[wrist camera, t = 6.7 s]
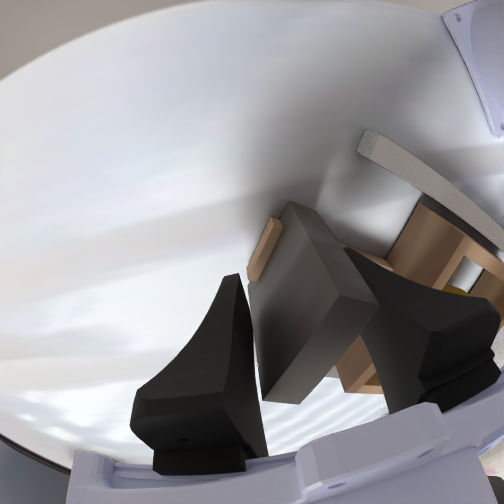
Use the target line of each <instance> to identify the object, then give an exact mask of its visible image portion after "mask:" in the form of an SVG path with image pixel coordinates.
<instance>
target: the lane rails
mask: <svg viewBox="0 0 504 504" xmlns="http://www.w3.org/2000/svg"><path fill="white" fill-rule="evenodd" d="M355 152H357V153H359V154H361V155H362V156H364V157H366V158H368V159H370V160H371V161H373V162H375V163H377V164H378V165H380V166H382V167H384V168H385V169H387V170H389V171H390V172H392V173H394V174H395V175H397V176H399V177H400V178H402V179H404V180H405V181H407V182H408V183H410V184H412V185H413V186H415V187H416V188H418V189H419V190H421V191H423V192H424V193H426V194H427V195H429V196H430V197H432V198H433V199H435V200H436V201H437V202H439V203H440V204H442V205H443V206H445V207H446V208H447V209H449V210H450V211H452V212H453V213H454V214H456V215H457V216H459V217H460V218H461V219H463V220H464V221H465V222H467V223H468V224H469V225H471V226H472V227H473V228H474V229H476V230H477V231H478V232H480V233H481V234H482V235H483V236H485V237H486V238H487V239H488V240H489V241H491V242H492V243H493V244H494V245H496V246H497V247H498V248H499V249H500V250H501V251H503V252H504V229H503V228H501V227H500V226H499V225H498V224H497V223H496V222H495V221H494V220H493V219H492V218H491V217H490V216H489V215H488V214H487V213H486V212H484V211H483V210H482V209H481V208H480V207H479V206H478V205H477V204H475V203H474V202H473V201H472V200H471V199H470V198H468V197H467V196H466V195H465V194H464V193H462V192H461V191H460V190H459V189H457V188H456V187H455V186H454V185H452V184H451V183H450V182H449V181H447V180H446V179H445V178H444V177H442V176H441V175H440V174H438V173H437V172H436V171H434V170H433V169H432V168H430V167H429V166H427V165H426V164H425V163H423V162H422V161H420V160H419V159H418V158H416V157H415V156H413V155H412V154H410V153H409V152H407V151H406V150H404V149H403V148H401V147H400V146H398V145H397V144H395V143H394V142H392V141H391V140H389V139H387V138H386V137H384V136H383V135H381V134H378V133H375V132H372V131H369V130H366V129H365V132H364V134H363V136H362V138H361V140H360V142H359V144H358V146H357V148H356V151H355ZM254 361H255V366H256V367H258V364H257V357H256V349H255V341H254ZM325 377H333V378H340V377H339V375H338V372H337V369H336V366H335V365H334V366H333V368H332V369H331V370H330V371H329V372H328V373H327V375H326V376H325Z"/></svg>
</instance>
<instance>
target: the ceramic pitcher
mask: <svg viewBox="0 0 504 504" xmlns="http://www.w3.org/2000/svg"><path fill="white" fill-rule="evenodd" d="M479 459H480V461H481V464H482V466H483V468H484V471H485V473H486V475H489V476H499V477H501V478H502V479H503V480H504V440H502V441H501V442H500V443H498V444H497V445H496V446H494V447H493V448H491V449H490V450H489V451H487V452H486V453H484V454H483V455H481V456H480V457H479Z"/></svg>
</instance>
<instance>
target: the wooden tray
mask: <svg viewBox="0 0 504 504" xmlns="http://www.w3.org/2000/svg"><path fill="white" fill-rule="evenodd" d="M345 247H350V248H351V249H353V250H355V251H357V252H358V253H360V254H362V255H363V256H365V257H367V258H368V259H370V260H372V261H373V262H375V263H377V264H379V265H380V266H382V267H384V268H386V269H388V270H390V271H392V272H394V273H396V274H398V275H400V276H402V277H404V278H406V279H409V280H411V281H414V282H416V283H419V284H422V285H425V286H428V287H431V288H434V289H438V290H442V289H443V288H444V286H445V285H446V283H447V282H448V280H449V279H450V277H451V276H452V274H453V273H454V271H455V269H456V268H457V266H458V265H459V263H460V262H461V260H462V258H463V257H464V256H466V257H467V258H469V259H470V260H472V261H474V262H475V263H477V264H478V265H480V266H481V267H483V268H484V269H485V271H484V272H483V274H482V275H481V277H480V278H479V280H478V281H477V283H476V284H475V286H474V287H473V289H472V290H471V292H470V293H469V295H470V296H473V297H482V298H487V300H488V301H489V302H490V303H491V304H492V305H493V306H494V307H495V308H496V309H497V311H498V312H499V313H500V316H501V322H500V327H499V330H500V329H501V328H502V327H503V325H504V262H503V261H502V260H501V259H499V258H498V257H497V256H496V255H495V254H493V253H492V252H491V251H489V250H488V249H487V248H485V247H484V246H483V245H482V244H480V243H479V242H477V241H476V240H475V239H473V238H472V237H471V236H469V235H468V234H466V233H465V232H464V231H462V230H461V229H459V228H458V227H457V226H455V225H454V224H452V223H451V222H449V221H448V220H446V219H445V218H443V217H442V216H440V215H439V214H437V213H436V212H434V211H433V210H431V209H430V208H428V207H426V206H425V205H423V204H422V203H420V202H419V203H418V205H417V207H416V209H415V210H414V212H413V214H412V216H411V218H410V219H409V221H408V223H407V225H406V227H405V228H404V230H403V232H402V234H401V235H400V237H399V239H398V240H397V242H396V244H395V245H394V247H393V249H392V250H391V252H390V254H389V255H388V257H387V259H386V260H385V259H382V258H380V257H377V256H375V255H372V254H370V253H367V252H365V251H362V250H359V249H357V248H354V247H352V246H349V245H347V244H344V243H341V242H339V241H337V240H336V238H335V237H334V235H333V234H332V232H331V231H330V230H329V228H328V227H327V226H326V224H325V223H324V221H323V220H322V219H321V217H320V216H319V215H318V213H317V212H316V211H314V210H311V209H309V208H306V207H304V206H301V205H298V204H296V203H293V202H291V201H288V202H287V204H286V206H285V209H284V211H283V213H282V215H281V217H280V219H277V218H274V217H270V219H269V221H268V223H267V225H266V227H265V230H264V232H263V234H262V236H261V238H260V240H259V243H258V245H257V247H256V249H255V251H254V253H253V256H252V258H251V260H250V262H249V264H248V266H247V275H248V280H250V282H249V284H248V294H249V302H250V310H251V318H252V325H253V333H254V341H255V349H256V357H257V364H258V372H259V380H260V387H261V395H262V401H269V402H278V403H288V404H300V403H301V402H302V401H303V400H304V399H305V398H306V397H307V396H308V395H309V394H310V392H311V391H312V390H313V389H314V388H315V387H316V386H317V385H318V384H319V383H320V381H321V380H322V379H323V378H324V377H325V376H326V375H327V373H328V372H329V371H330V370H331V369H332V368H333V366H334V365H335V366H336V369H337V372H338V375H339V377H340V380H341V383H342V386H343V389H344V392H345V393H363V394H384V393H383V390H382V387H381V384H380V381H379V378H378V375H377V372H376V369H375V367H374V364H373V361H372V359H371V356H370V353H369V351H368V349H367V347H366V345H365V343H364V341H363V339H362V337H361V336H360V333H361V332H362V331H363V329H364V328H365V327H366V325H367V324H368V323H369V321H370V320H371V319H372V317H373V316H374V315H375V313H376V312H377V311H378V309H379V308H380V306H381V305H380V304H379V302H378V301H377V299H376V297H375V296H374V294H373V293H372V291H371V290H370V288H369V287H368V285H367V284H366V282H365V281H364V279H363V278H362V276H361V275H360V273H359V272H358V270H357V269H356V267H355V266H354V264H353V263H352V261H351V260H350V258H349V257H348V255H347V254H346V252H345V251H344V250H343V248H345ZM499 330H498V332H499ZM498 332H497V333H498Z"/></svg>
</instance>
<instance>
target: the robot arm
mask: <svg viewBox="0 0 504 504" xmlns="http://www.w3.org/2000/svg"><path fill="white" fill-rule="evenodd" d="M455 16H456V18H457V20H456V18H455ZM443 20H444V23H445V24H446V26H447V28H448V30H449V32H450V33H451V35H452V37H453V39H454V41H455V43H456V45H457V47H458V49H459V51H460V53H461V55H462V57H463V59H464V61H465V63H466V66H467V68H468V70H469V72H470V75H471V77H472V79H473V82H474V84H475V87H476V89H477V92H478V94H479V97H480V100H481V102H482V105H483V108H484V111H485V114H486V117H487V120H488V123H489V126H490V130H491V133H492V135H493V136H495V137H498V138H499V137H501V136H502V135H503V134H504V0H474V1H472V2H469V3H466V4H464V5H461V6H459V7H457V8H454V9H452V10H449V11H447V12H445V13H444V14H443ZM343 250H344V251H345V252H346V254H347V255H348V257H349V258H350V260H351V261H352V263H353V264H354V266H355V267H356V269H357V270H358V272H359V273H360V275H361V276H362V278H363V279H364V281H365V282H366V284H367V285H368V287H369V288H370V290H371V291H372V293H373V294H374V296H375V297H376V299H377V301H378V302H379V304H380V305H381V306H380V308H379V309H378V311H377V312H376V313H375V315H374V316H373V317H372V319H371V320H370V321H369V323H368V324H367V325H366V327H365V328H364V329H363V331H362V332H361V333H360V336H361V337H362V339H363V341H364V343H365V345H366V347H367V349H368V351H369V353H370V356H371V359H372V361H373V364H374V367H375V369H376V372H377V375H378V378H379V381H380V384H381V387H382V390H383V393H384V396H385V400H386V403H387V406H388V410H389V414H390V415H388V416H386V417H383V418H380V419H377V420H374V421H371V422H369V423H366V424H363V425H359V426H356V427H353V428H350V429H346V430H343V431H340V432H336V433H332V434H329V435H327V436H324V437H321V438H318V439H315V440H313V441H311V442H309V443H308V444H306V445H304V446H303V447H301V448H300V449H299V450H298V451H296V452H291V453H286V454H281V455H275V456H269V455H268V450H267V445H266V440H265V434H264V429H263V423H262V418H261V412H260V406H259V400H258V393H257V387H256V379H255V361H254V336H253V326H252V319H251V313H250V309H249V305H248V302H247V299H246V295H245V292H244V289H243V285H242V282H241V279H240V275H239V273H237V274H232V275H228V276H224V278H223V279H222V282H221V285H220V287H219V289H218V292H217V294H216V296H215V298H214V300H213V302H212V305H211V307H210V309H209V311H208V312H207V314H206V316H205V318H204V319H203V321H202V323H201V325H200V326H199V328H198V329H197V331H196V332H195V334H194V335H193V337H192V338H191V339H190V341H189V342H188V343H187V344H186V346H185V347H184V348H183V349H182V350H181V351H180V353H179V354H178V355H177V356H176V357H175V358H174V359H173V360H172V361H171V362H170V363H169V364H168V365H167V366H166V367H165V368H164V369H163V370H162V371H161V372H159V373H158V374H157V375H156V376H155V377H153V378H152V379H151V380H150V381H148V382H147V383H146V384H144V385H143V386H142V387H140V388H139V389H138V390H137V392H136V395H135V399H134V403H133V408H132V414H131V420H130V428H131V430H132V432H133V433H134V434H135V435H136V436H137V437H138V438H139V439H140V440H142V441H143V442H144V443H145V444H146V445H148V446H149V447H150V448H151V449H153V450H154V456H153V465H144V464H125V463H114V462H113V461H112V460H111V459H110V458H108V457H106V456H105V455H102V454H98V453H91V452H83V451H76V452H75V457H74V461H73V466H72V471H71V476H70V481H69V487H68V493H67V499H66V504H498V503H497V500H496V498H495V495H494V493H493V490H492V487H491V485H490V483H489V480H488V478H487V475H486V473H485V471H484V468H483V466H482V464H481V461H480V459H479V457H480V456H481V455H483V454H484V453H486V452H487V451H489V450H490V449H491V448H493V447H494V446H496V445H497V444H498V443H500V442H501V441H502V440H504V366H503V367H502V368H500V369H499V368H498V366H497V365H496V363H495V362H494V360H493V359H492V358H494V356H495V354H494V352H493V351H492V349H491V348H490V347H491V345H492V343H493V341H494V339H495V337H496V334H497V332H498V330H499V327H500V322H501V316H500V313H499V312H498V311H497V309H496V308H495V307H494V306H493V305H492V304H491V303H490V302H489V301H488V300H487V298H482V297H473V296H465V295H459V294H454V293H449V292H445V291H441V290H438V289H434V288H431V287H428V286H425V285H422V284H419V283H416V282H414V281H411V280H409V279H406V278H404V277H402V276H400V275H398V274H396V273H394V272H392V271H390V270H388V269H386V268H384V267H382V266H380V265H379V264H377V263H375V262H373V261H372V260H370V259H368V258H367V257H365V256H363V255H362V254H360V253H358V252H357V251H355V250H353V249H351V248H350V247H345V248H343Z"/></svg>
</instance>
